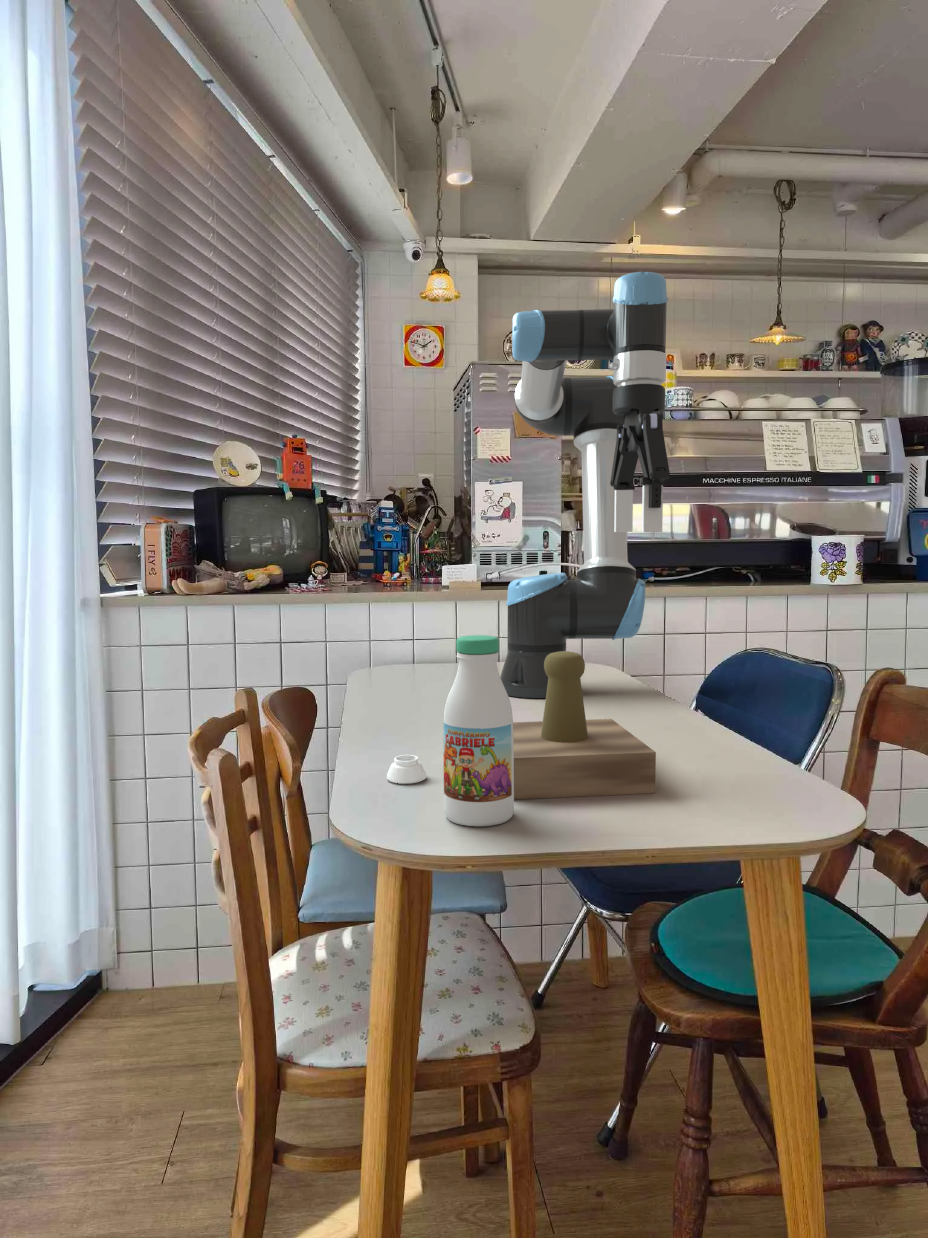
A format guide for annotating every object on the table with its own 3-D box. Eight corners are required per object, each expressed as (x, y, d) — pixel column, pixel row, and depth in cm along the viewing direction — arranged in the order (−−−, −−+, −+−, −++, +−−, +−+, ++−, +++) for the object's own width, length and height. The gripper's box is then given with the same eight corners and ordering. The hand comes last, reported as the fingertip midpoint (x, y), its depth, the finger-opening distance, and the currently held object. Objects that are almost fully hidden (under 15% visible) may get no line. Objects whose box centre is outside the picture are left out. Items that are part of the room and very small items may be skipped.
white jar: (387, 775, 106) (386, 787, 101) (386, 753, 105) (386, 764, 100) (425, 774, 106) (426, 785, 101) (425, 752, 106) (426, 762, 101)
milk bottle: (448, 804, 94) (446, 632, 92) (515, 805, 93) (514, 632, 91) (439, 827, 86) (437, 641, 84) (512, 829, 85) (511, 641, 83)
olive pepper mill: (587, 743, 101) (587, 655, 100) (538, 741, 102) (538, 655, 101) (589, 731, 107) (589, 649, 105) (543, 730, 108) (543, 648, 107)
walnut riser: (485, 758, 113) (485, 723, 112) (611, 753, 115) (611, 718, 114) (507, 800, 95) (506, 758, 94) (655, 792, 97) (655, 752, 96)
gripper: (591, 399, 130) (590, 531, 132) (641, 369, 105) (638, 532, 108) (637, 399, 131) (635, 531, 133) (696, 369, 106) (693, 532, 108)
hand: (636, 532), depth 120 cm, fingers open, 13 cm apart
